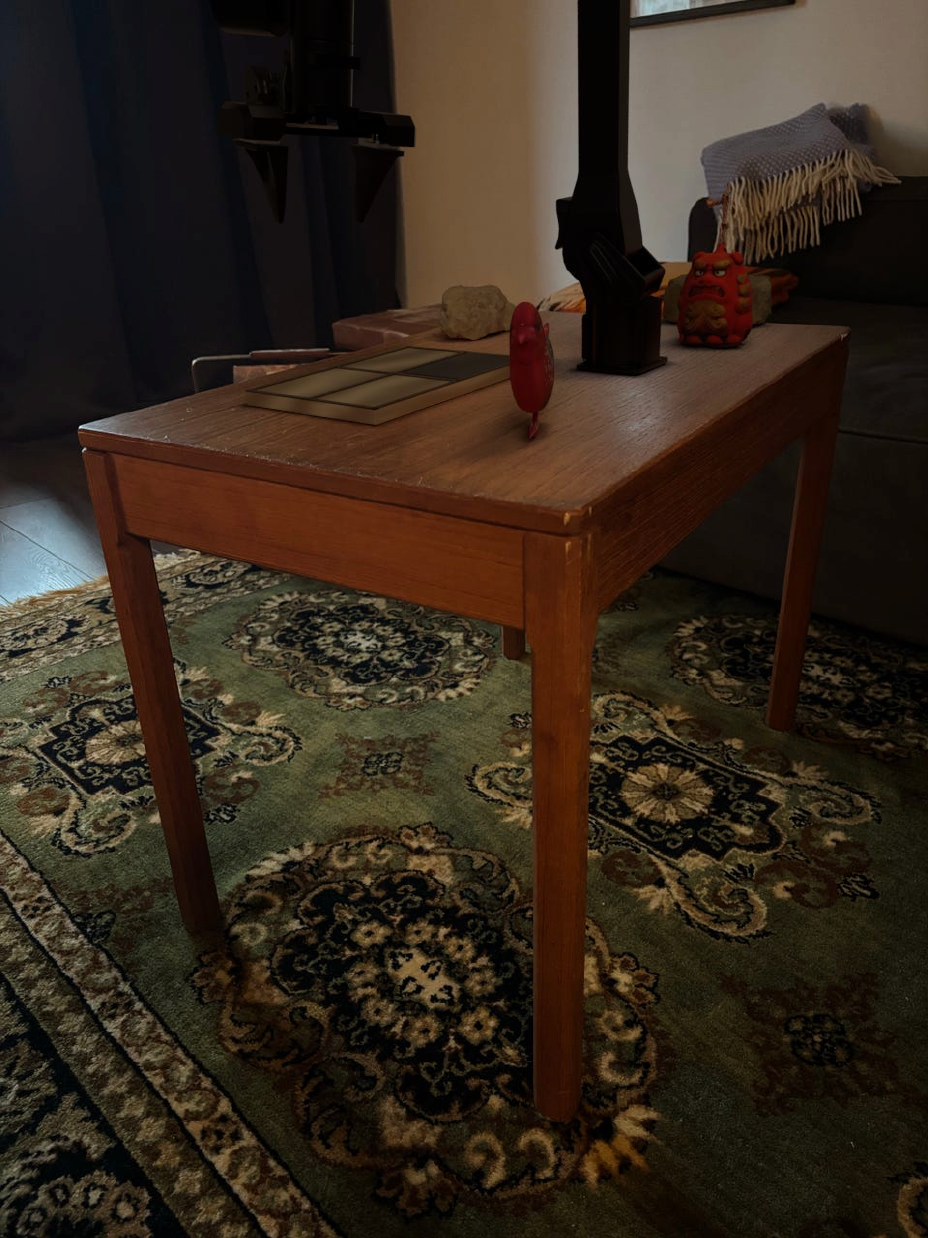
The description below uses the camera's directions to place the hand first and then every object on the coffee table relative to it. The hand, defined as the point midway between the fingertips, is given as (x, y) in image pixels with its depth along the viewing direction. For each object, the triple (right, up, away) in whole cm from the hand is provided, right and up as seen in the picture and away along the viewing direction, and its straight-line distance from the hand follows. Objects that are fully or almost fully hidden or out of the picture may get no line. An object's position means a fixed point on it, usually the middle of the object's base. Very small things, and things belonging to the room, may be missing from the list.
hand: (320, 222), depth 96 cm
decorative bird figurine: (+20, -25, -23) cm, 40 cm away
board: (+8, -19, -9) cm, 22 cm away
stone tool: (+16, -7, +15) cm, 23 cm away
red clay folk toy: (+40, -11, +3) cm, 42 cm away
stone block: (+43, -6, +14) cm, 46 cm away
